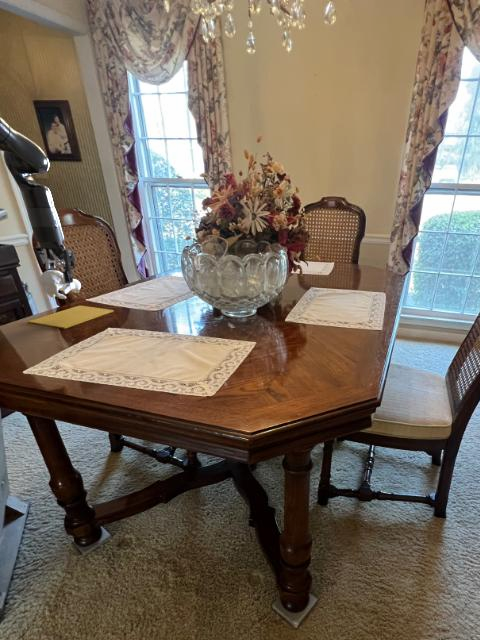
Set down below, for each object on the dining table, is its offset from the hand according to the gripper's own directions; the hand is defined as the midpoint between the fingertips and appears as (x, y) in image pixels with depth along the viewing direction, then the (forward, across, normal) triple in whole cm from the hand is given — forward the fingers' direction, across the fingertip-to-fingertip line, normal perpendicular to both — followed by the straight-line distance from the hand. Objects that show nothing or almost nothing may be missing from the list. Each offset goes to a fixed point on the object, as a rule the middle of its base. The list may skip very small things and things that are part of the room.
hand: (62, 281), depth 122 cm
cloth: (+11, 0, 0) cm, 11 cm away
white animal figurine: (+5, 0, 0) cm, 5 cm away
